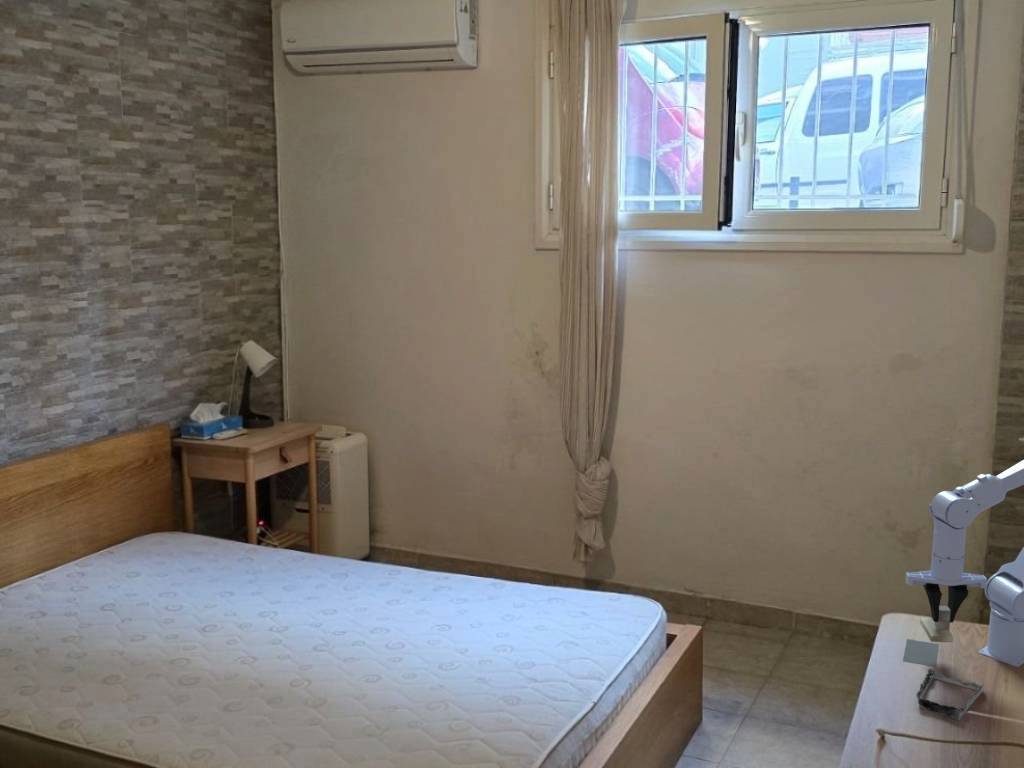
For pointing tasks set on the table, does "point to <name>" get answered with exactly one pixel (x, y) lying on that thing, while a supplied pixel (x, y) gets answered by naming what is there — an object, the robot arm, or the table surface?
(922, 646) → the rest mat
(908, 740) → the table surface
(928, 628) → the scraper
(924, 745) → the table surface
